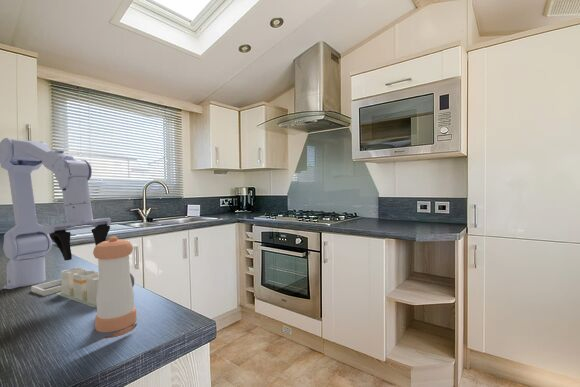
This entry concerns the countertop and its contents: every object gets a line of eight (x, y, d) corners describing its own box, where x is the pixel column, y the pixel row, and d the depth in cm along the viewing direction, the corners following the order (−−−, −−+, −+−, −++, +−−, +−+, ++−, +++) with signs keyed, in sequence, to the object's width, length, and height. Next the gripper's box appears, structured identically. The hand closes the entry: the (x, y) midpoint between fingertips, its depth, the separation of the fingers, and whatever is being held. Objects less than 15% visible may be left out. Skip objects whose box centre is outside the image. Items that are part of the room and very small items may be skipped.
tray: (31, 295, 80) (31, 286, 80) (63, 287, 86) (63, 278, 86) (43, 300, 76) (43, 290, 76) (76, 291, 83) (75, 282, 83)
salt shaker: (91, 341, 55) (87, 241, 54) (99, 325, 62) (95, 235, 61) (135, 333, 58) (131, 237, 57) (138, 318, 65) (134, 232, 64)
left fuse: (61, 293, 78) (60, 271, 78) (78, 288, 81) (77, 267, 81) (69, 295, 76) (68, 272, 76) (86, 290, 79) (85, 268, 79)
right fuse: (87, 301, 72) (86, 277, 71) (104, 296, 75) (103, 273, 75) (95, 304, 70) (94, 280, 69) (112, 298, 73) (112, 275, 73)
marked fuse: (73, 297, 75) (72, 274, 75) (91, 292, 78) (90, 270, 78) (81, 300, 73) (80, 276, 73) (99, 294, 76) (98, 272, 76)
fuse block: (55, 298, 78) (55, 286, 78) (80, 290, 83) (80, 279, 83) (94, 312, 68) (93, 298, 68) (119, 303, 73) (119, 290, 73)
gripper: (51, 205, 68) (59, 262, 67) (114, 200, 81) (121, 249, 80) (38, 209, 71) (45, 264, 71) (100, 204, 84) (107, 251, 83)
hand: (84, 256), depth 76 cm, fingers open, 7 cm apart
